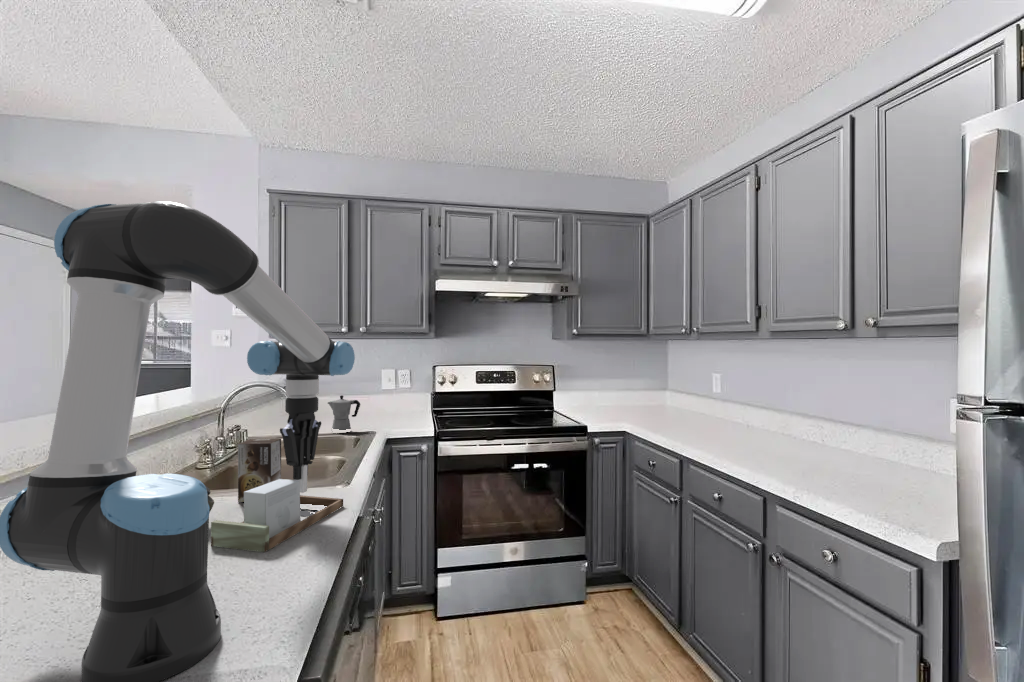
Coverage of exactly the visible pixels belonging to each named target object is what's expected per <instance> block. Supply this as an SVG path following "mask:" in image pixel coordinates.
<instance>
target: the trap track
mask: <svg viewBox="0 0 1024 682" xmlns="http://www.w3.org/2000/svg"><path fill="white" fill-rule="evenodd" d="M300 504H312V505H324V506H327V507H325V508H324V509H322V510H320V511H318V512H316V513H315V514H313V515H311V516H309V517H305V518H304V519H301V521H300V522H298V523H296V524H295V525H293V526H291V527H289V528H287V529H285V530H284V531H282V532H280V533H278V534H276V535H275V536H273V537H271V538H269V526H268V525H258V524H249V523H244V520H243V521H241V522H239V521H229V520H218V519H215V520H213V521H211V523H210V547H214V548H215V547H216V546H217V548H223V547H224V548H226V549H233V550H243V551H249V552H250V551H251V552H257V553H266V552H268V551H270V550H272V549H273V548H275V547H277V546H278V545H280V544H282V543H283V542H285V541H286V540H288V539H290V538H292V537H294V536H296V535H297V534H299V533H300V532H302V531H303V530H305V529H307V528H309V527H311V526H312V525H314V524H316V523H317V521H318V522H320V521H321V520H323V519H325V518H326V517H328V516H330V515H331V514H333V513H334V511H335V512H336V510H337V509H338V510H340V509H341V508H340V507H342V506H343V507H344V498H337V497H323V496H314V495H313V496H312V495H301V494H300ZM343 507H342V508H343ZM339 508H340V509H339ZM338 510H337V511H338ZM332 512H333V513H332ZM329 514H330V515H329ZM327 515H328V516H327ZM322 518H323V519H322Z"/></svg>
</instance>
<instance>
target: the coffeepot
mask: <svg viewBox="0 0 1024 682" xmlns="http://www.w3.org/2000/svg"><path fill="white" fill-rule="evenodd" d="M339 397H340V399H337V400H332V401H328V402H327V404H328V405H329V406H330V408H331V410H332V414H333V416H334V417H333V420H332V426H331V429H332V428H333V429H339V430H346V429H351V430H352V427H351V423H350V421H351V420H350V418H349V415H350V414H351V408H352V405H356V406H355V410H354V414H351V417H352V418H355V417H357V415H358V412H359V409H360V408H361V403H360V401H358V400H357V399H354V400H353V399H351V400H348V399H344V395H339Z"/></svg>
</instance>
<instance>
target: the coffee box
mask: <svg viewBox="0 0 1024 682" xmlns="http://www.w3.org/2000/svg"><path fill="white" fill-rule="evenodd" d="M237 460H238V461H237V503H238V502H244V492H245V491H248V490H250V489H253V488H256V487H259V486H262V485H264V484H267V483H270V482H273V481H275V480H278V479H282V438H250V439H246V440H245V441H242V442H240V443H238V444H237Z"/></svg>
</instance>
